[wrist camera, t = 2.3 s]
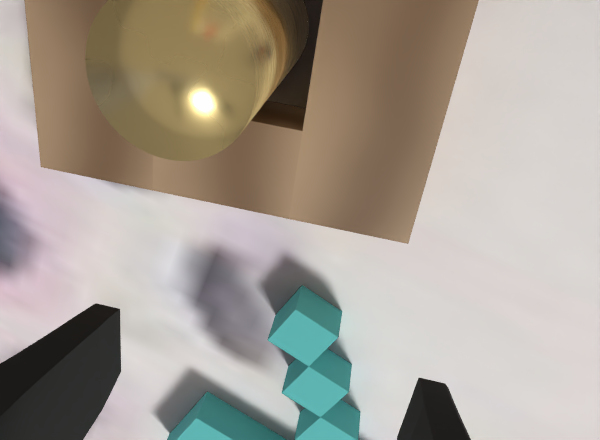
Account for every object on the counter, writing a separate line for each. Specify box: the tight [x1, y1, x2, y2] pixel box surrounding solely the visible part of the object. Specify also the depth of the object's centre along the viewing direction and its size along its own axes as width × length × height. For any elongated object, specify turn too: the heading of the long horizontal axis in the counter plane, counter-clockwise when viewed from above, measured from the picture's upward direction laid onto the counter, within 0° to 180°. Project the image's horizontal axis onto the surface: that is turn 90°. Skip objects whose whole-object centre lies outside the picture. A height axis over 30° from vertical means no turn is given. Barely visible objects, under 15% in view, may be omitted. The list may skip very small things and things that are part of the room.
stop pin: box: [85, 0, 309, 161], centre depth 16 cm, size 4×4×8 cm
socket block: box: [25, 0, 479, 244], centre depth 18 cm, size 14×12×2 cm
